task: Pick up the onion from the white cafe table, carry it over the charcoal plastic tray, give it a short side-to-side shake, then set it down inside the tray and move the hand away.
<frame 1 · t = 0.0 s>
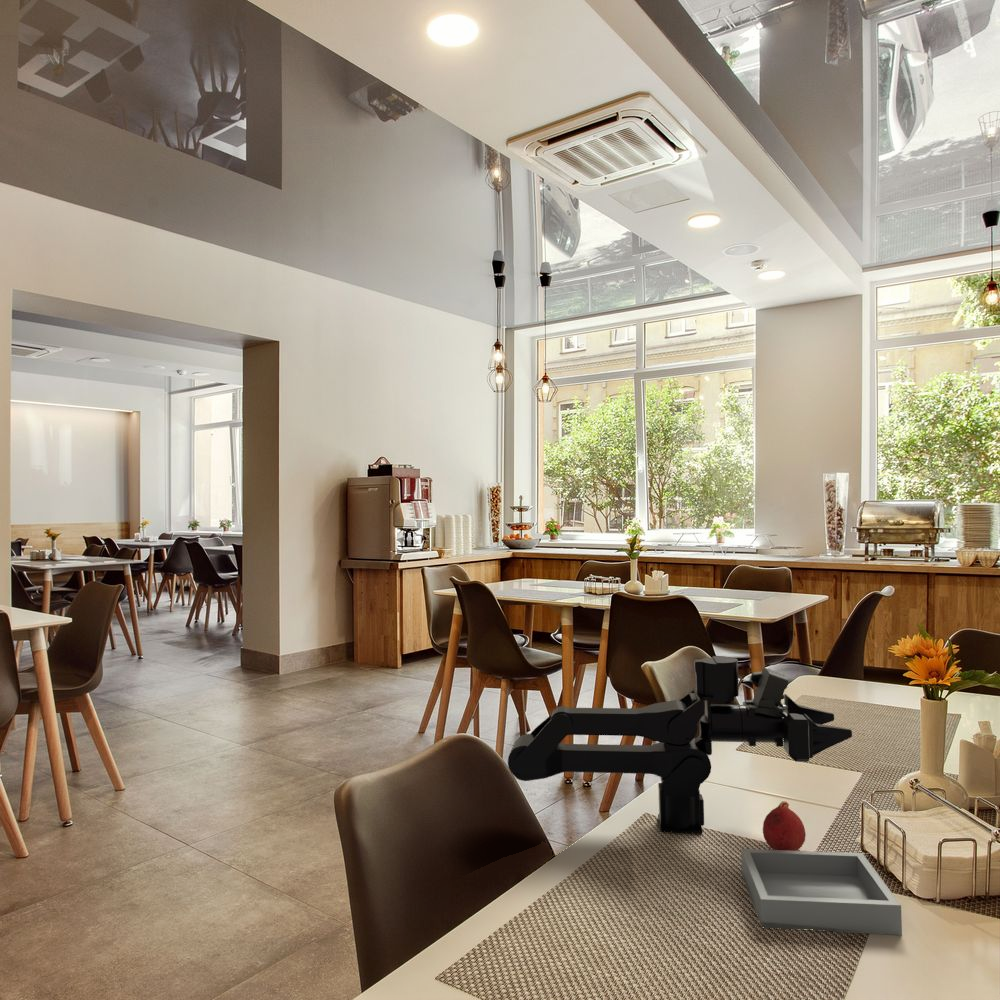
hand: (842, 724, 121), 17 cm above the table, tool horizontal, fingers open, 9 cm apart
onion: (784, 858, 113), on the table
tray: (815, 902, 100), on the table
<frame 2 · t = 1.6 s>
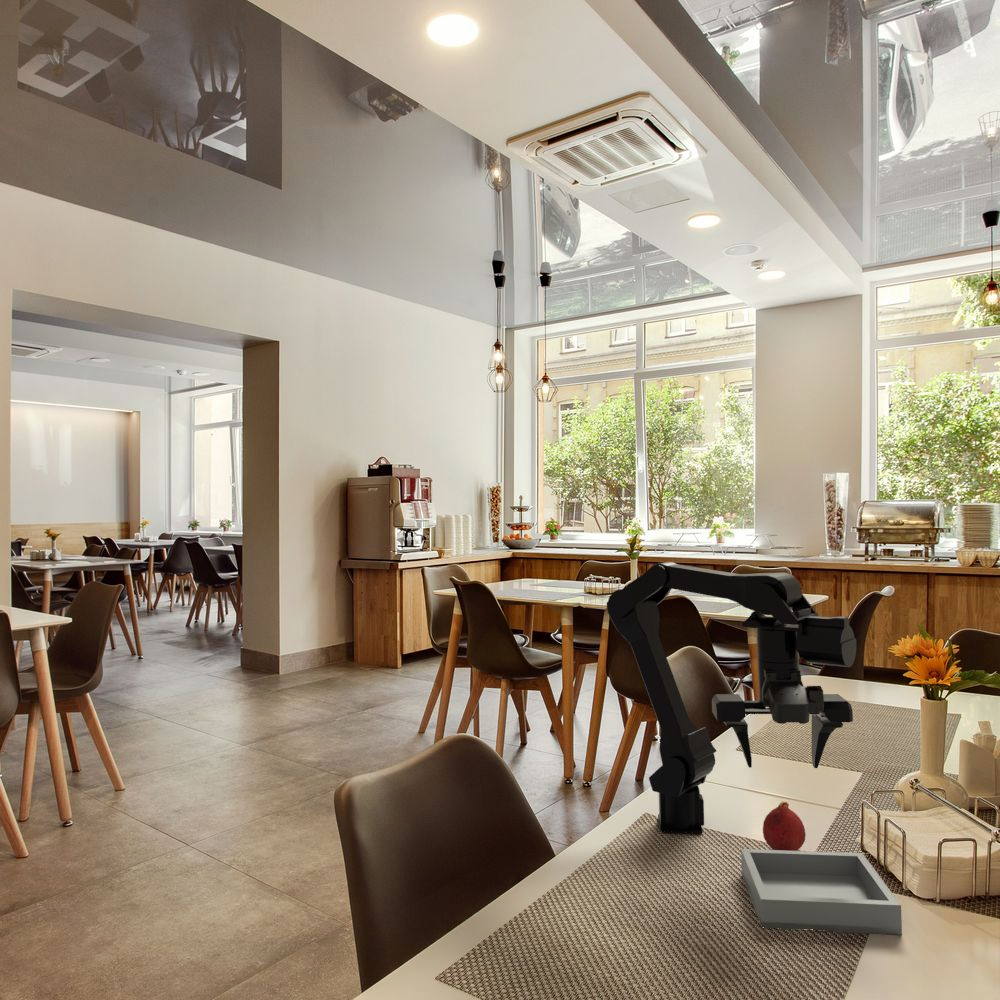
hand: (782, 767, 113), 13 cm above the table, tool pointing down, fingers open, 9 cm apart
nothing on the table moved.
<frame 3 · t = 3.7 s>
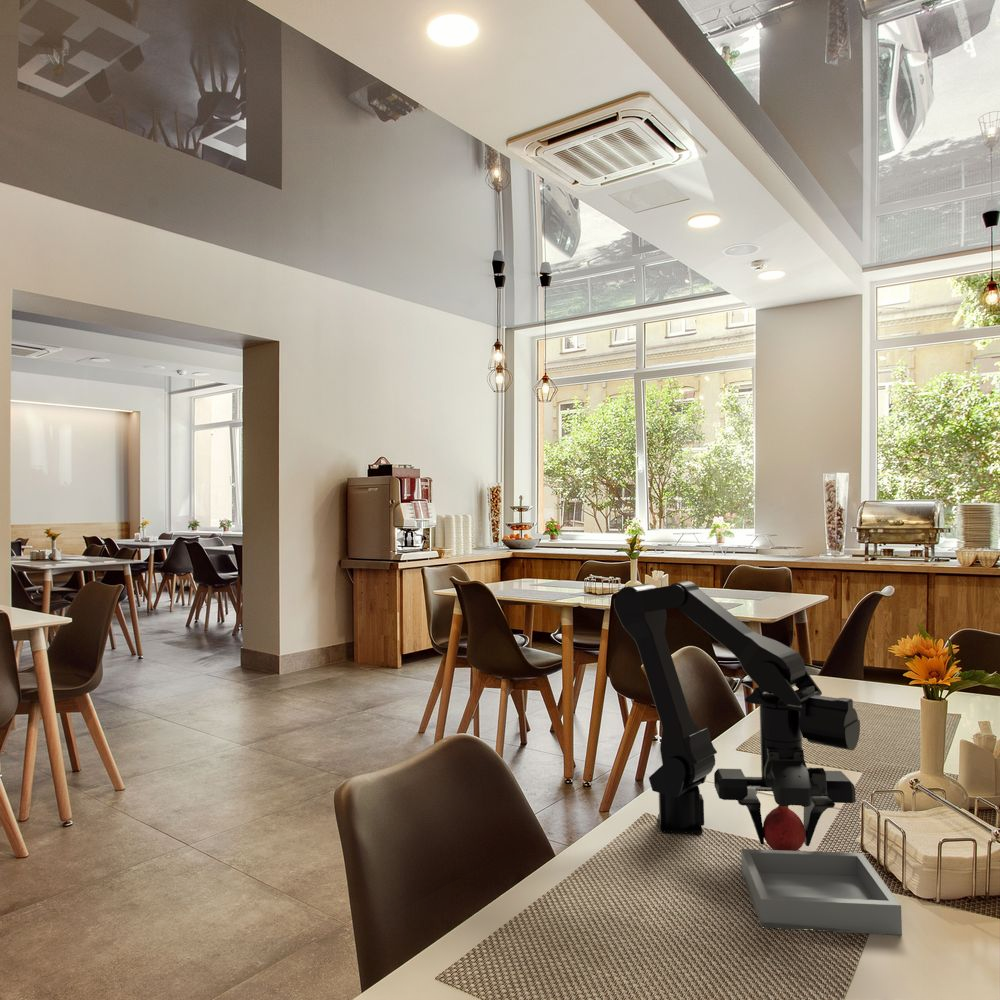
hand: (784, 844, 113), 2 cm above the table, tool pointing down, fingers closed on onion, 6 cm apart
onion: (784, 858, 113), on the table, touching gripper
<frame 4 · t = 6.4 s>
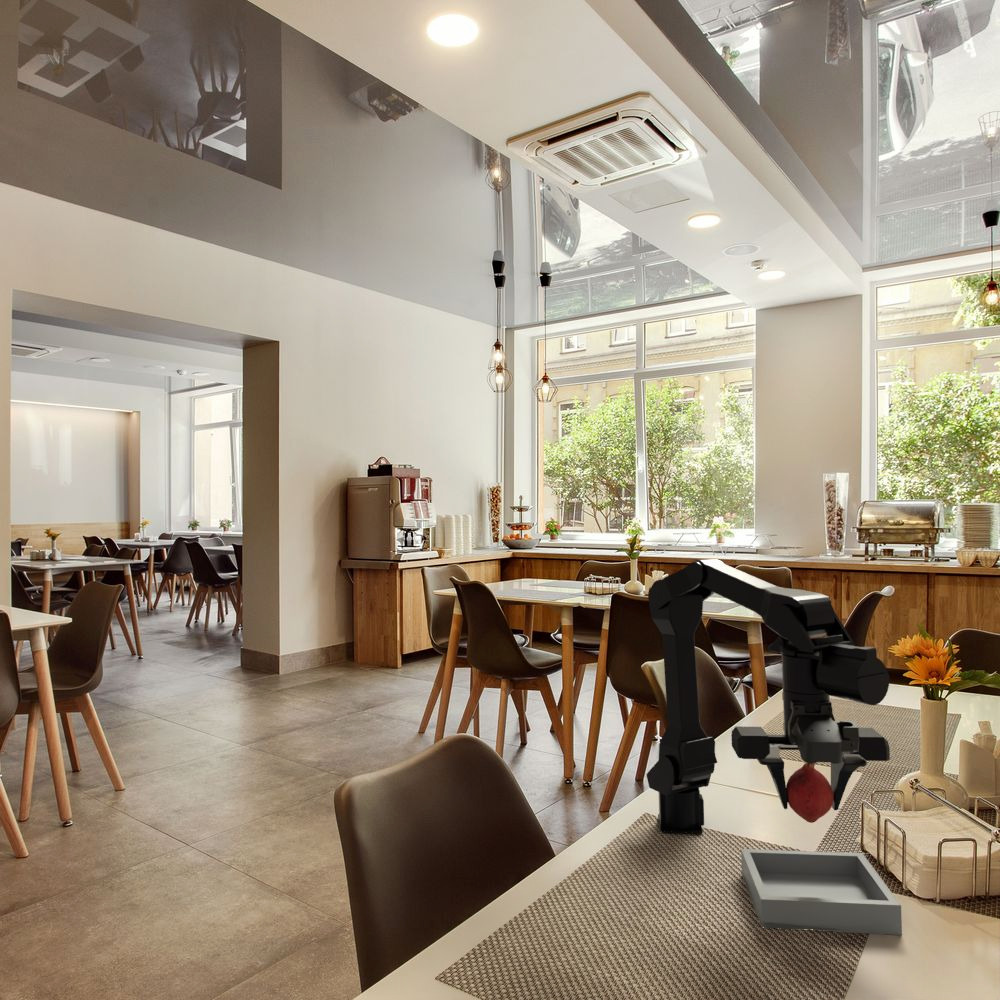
hand: (809, 808, 102), 11 cm above the table, tool pointing down, fingers closed on onion, 6 cm apart
onion: (810, 823, 102), point 9 cm above the table, touching gripper
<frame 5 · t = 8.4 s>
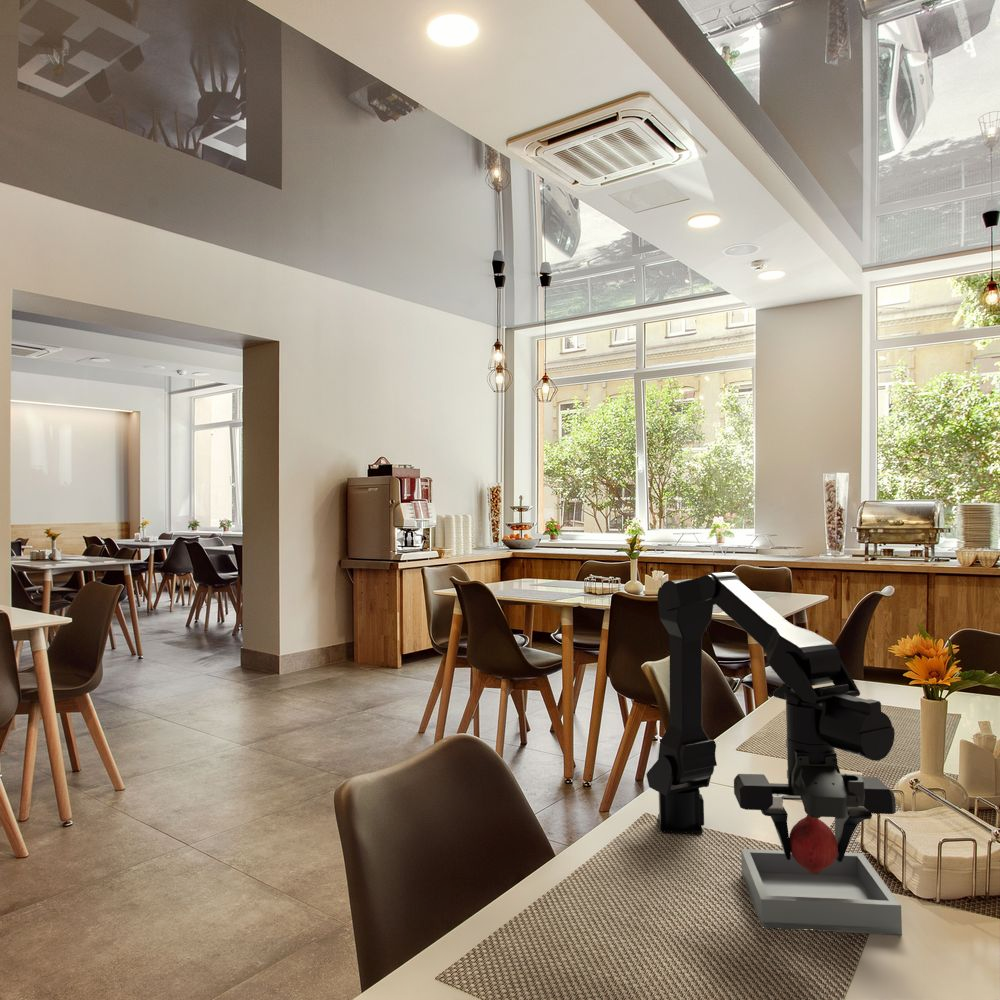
hand: (813, 859, 100), 5 cm above the table, tool pointing down, fingers closed on onion, 6 cm apart
onion: (813, 875, 100), point 3 cm above the table, touching gripper
when the fingers open (3 cm above the table, at t = 9.6 s): onion stays where it is, resting on tray.
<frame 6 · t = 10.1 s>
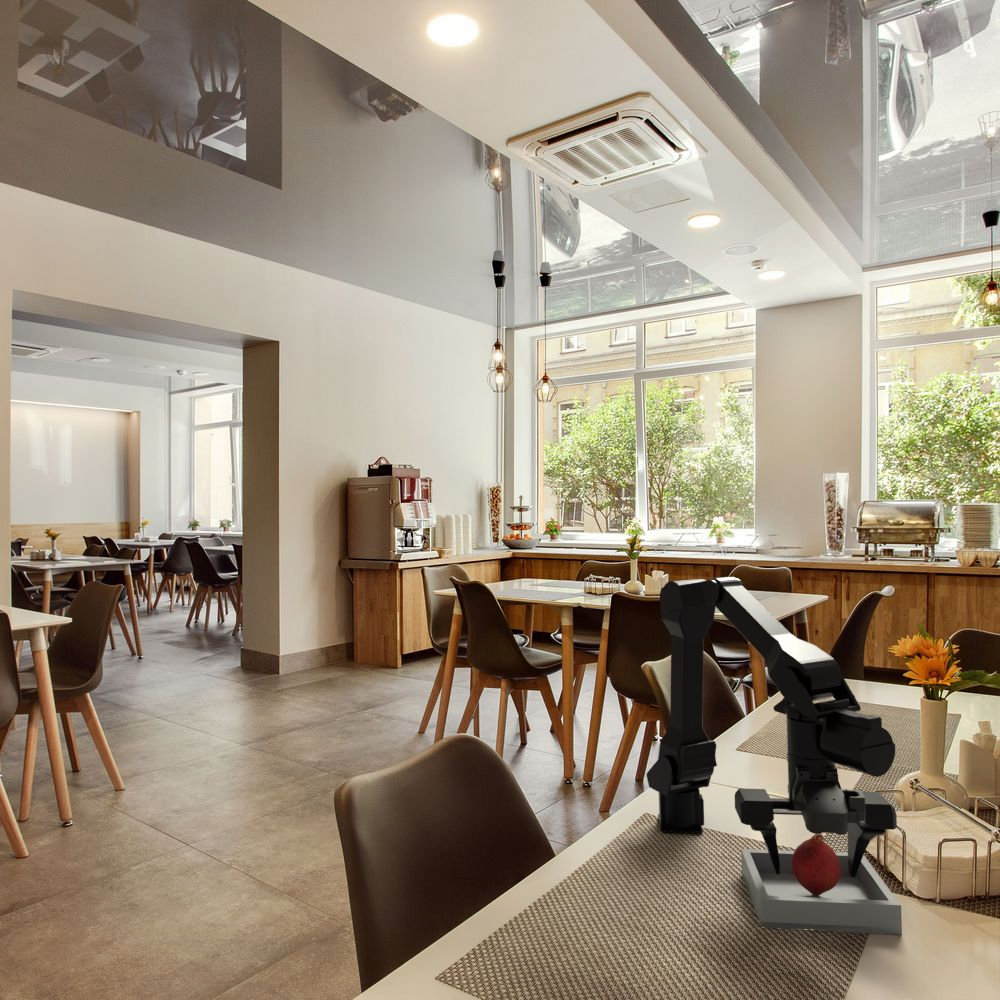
hand: (814, 874, 100), 3 cm above the table, tool pointing down, fingers open, 9 cm apart
onion: (814, 896, 100), point 1 cm above the table, touching tray
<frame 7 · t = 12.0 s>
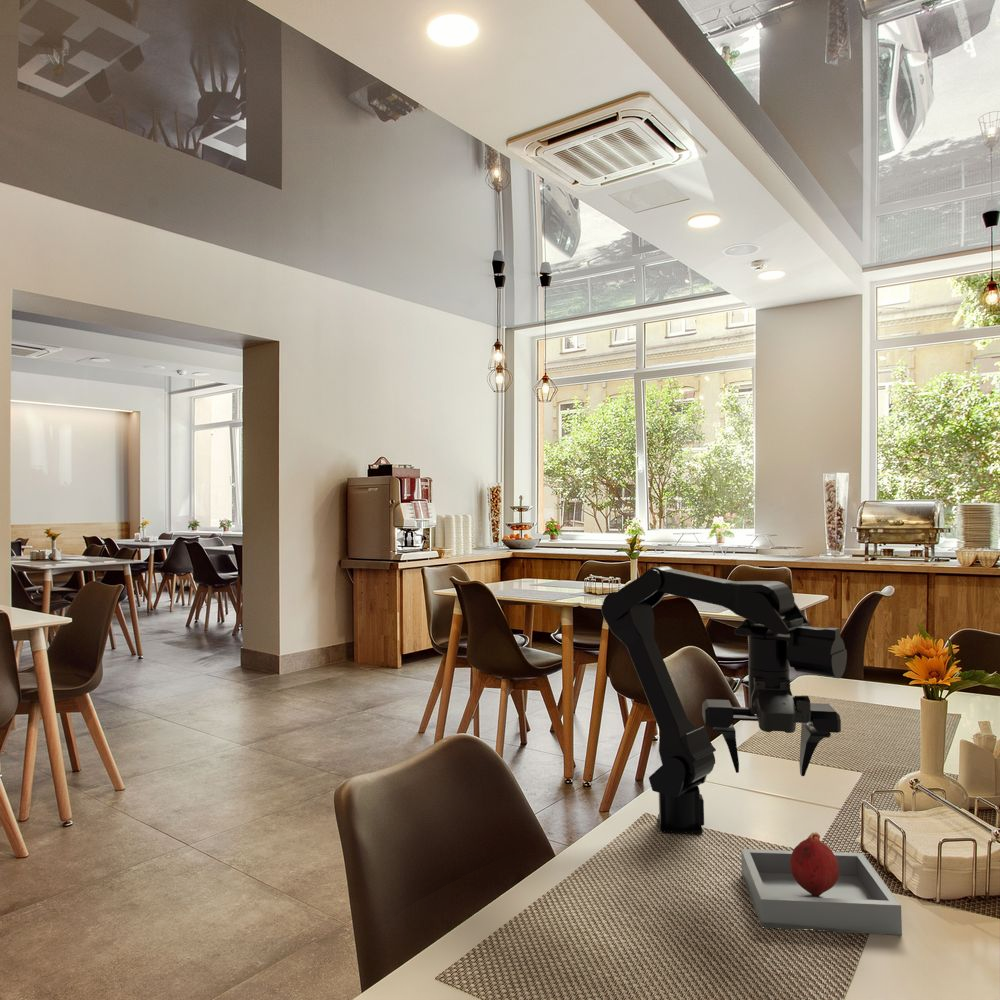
hand: (769, 773, 114), 12 cm above the table, tool pointing down, fingers open, 9 cm apart
nothing on the table moved.
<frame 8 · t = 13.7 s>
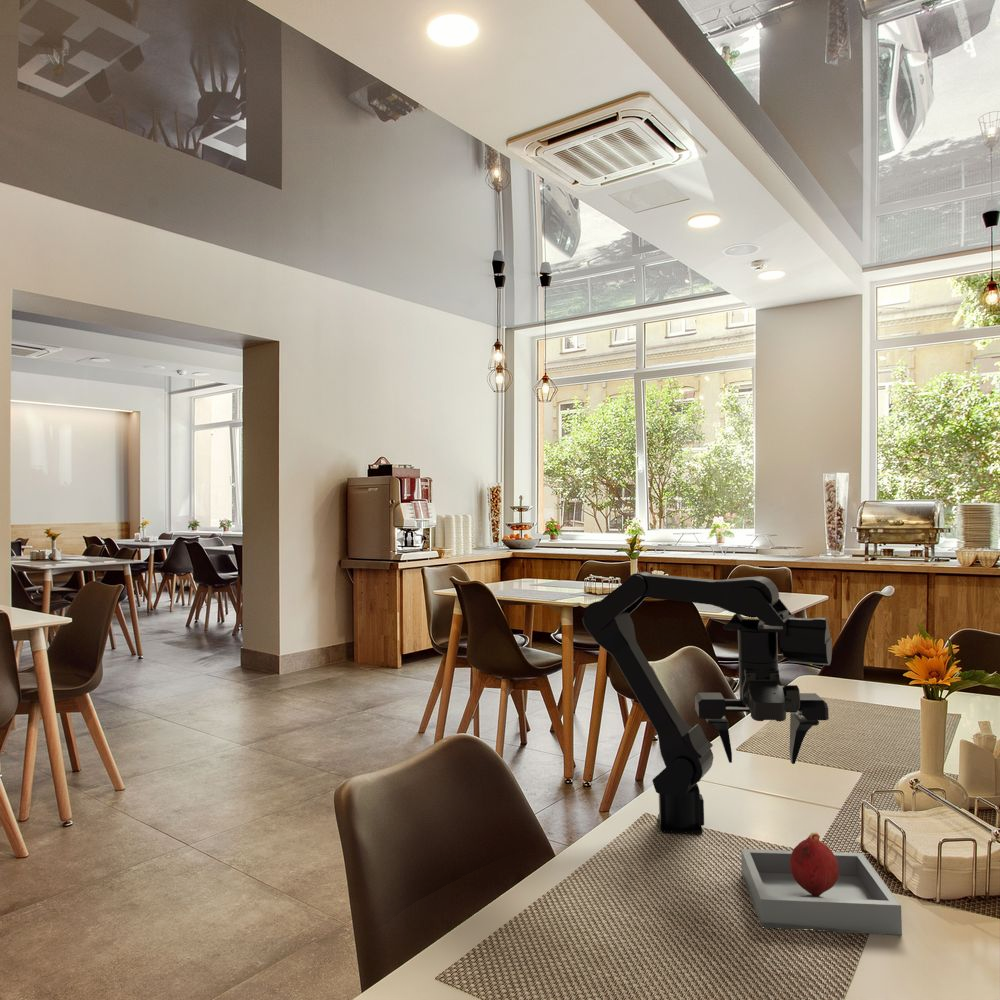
hand: (761, 762, 118), 12 cm above the table, tool pointing down, fingers open, 9 cm apart
nothing on the table moved.
at the end: onion inside the target area on the tray (0.1 cm from its centre), point 0.6 cm above the tray's base; the gripper is holding nothing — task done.
